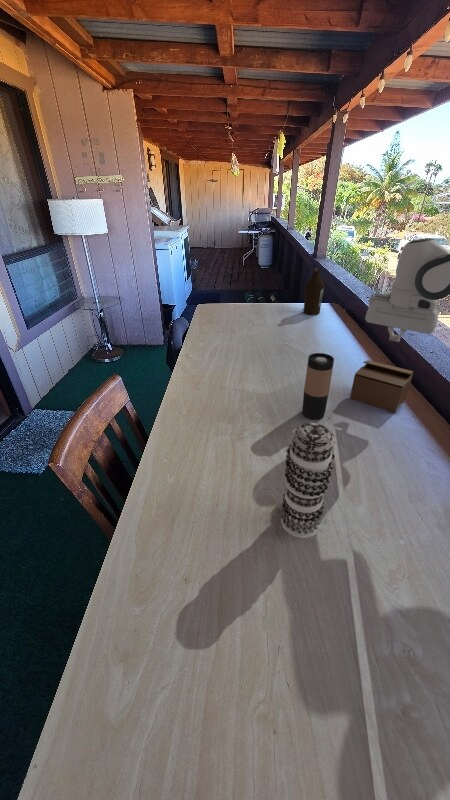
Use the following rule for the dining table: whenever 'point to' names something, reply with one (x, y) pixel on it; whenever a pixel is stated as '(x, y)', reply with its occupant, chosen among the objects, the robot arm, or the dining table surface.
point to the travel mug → (317, 385)
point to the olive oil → (313, 294)
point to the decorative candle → (306, 478)
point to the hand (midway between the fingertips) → (394, 340)
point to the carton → (380, 387)
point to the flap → (388, 367)
